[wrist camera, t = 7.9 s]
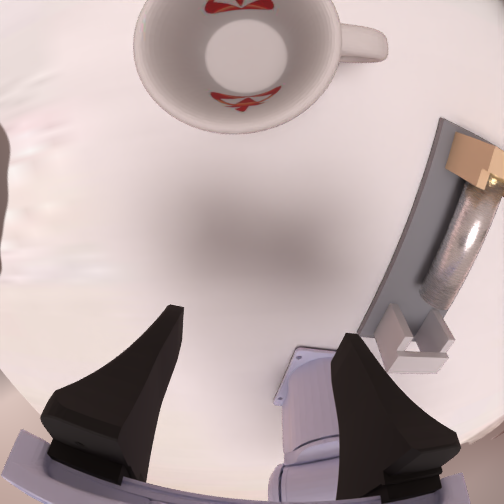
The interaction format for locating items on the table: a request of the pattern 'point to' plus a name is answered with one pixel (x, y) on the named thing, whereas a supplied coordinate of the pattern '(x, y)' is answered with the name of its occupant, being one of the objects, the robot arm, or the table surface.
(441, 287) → the tube
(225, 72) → the cup
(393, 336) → the board
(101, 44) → the table surface
